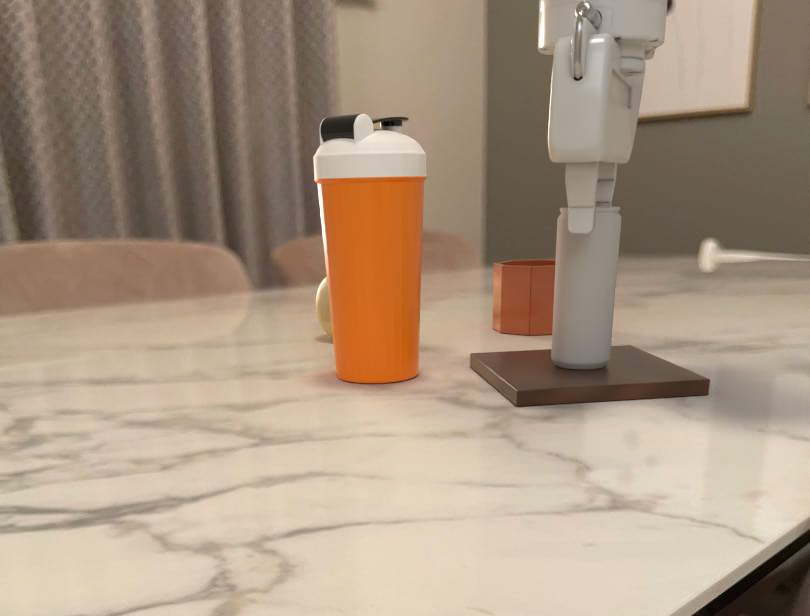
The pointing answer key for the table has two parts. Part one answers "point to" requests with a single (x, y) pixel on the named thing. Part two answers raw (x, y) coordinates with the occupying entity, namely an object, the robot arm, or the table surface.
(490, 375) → the board
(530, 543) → the table surface
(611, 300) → the beverage can
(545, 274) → the crock
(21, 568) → the table surface
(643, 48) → the robot arm
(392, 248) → the shaker bottle
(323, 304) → the apple
